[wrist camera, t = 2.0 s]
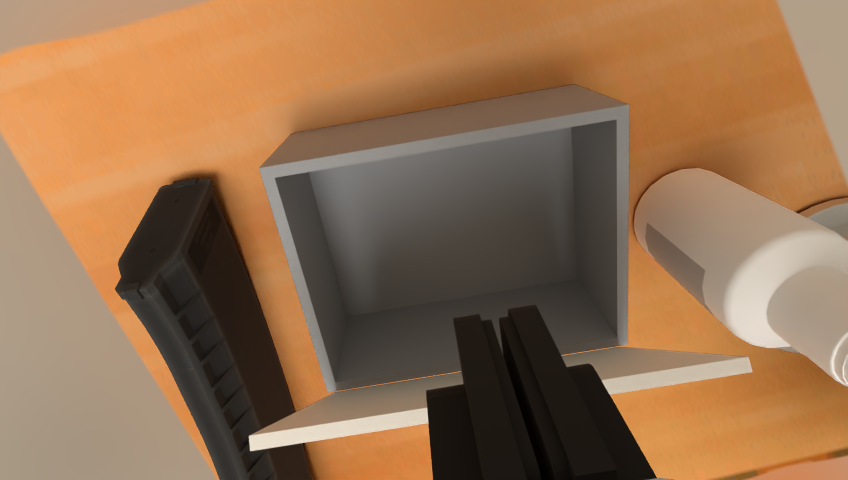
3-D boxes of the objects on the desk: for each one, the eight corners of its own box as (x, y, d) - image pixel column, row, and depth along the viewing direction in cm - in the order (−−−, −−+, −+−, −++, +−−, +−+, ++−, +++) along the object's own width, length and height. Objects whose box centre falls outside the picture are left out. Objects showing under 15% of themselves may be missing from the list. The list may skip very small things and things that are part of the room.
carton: (575, 84, 31) (629, 104, 24) (582, 279, 37) (627, 344, 29) (291, 133, 32) (259, 168, 24) (341, 318, 37) (327, 392, 30)
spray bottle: (620, 254, 36) (806, 452, 20) (645, 162, 33) (885, 302, 17) (710, 260, 37) (964, 457, 20) (742, 169, 34) (1066, 312, 17)
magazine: (69, 186, 23) (205, 738, 27) (137, 175, 23) (264, 730, 27) (219, 181, 40) (289, 521, 44) (258, 175, 40) (326, 515, 44)
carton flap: (748, 356, 17) (752, 372, 17) (619, 346, 29) (621, 355, 29) (248, 435, 17) (249, 451, 17) (335, 392, 30) (336, 400, 30)
